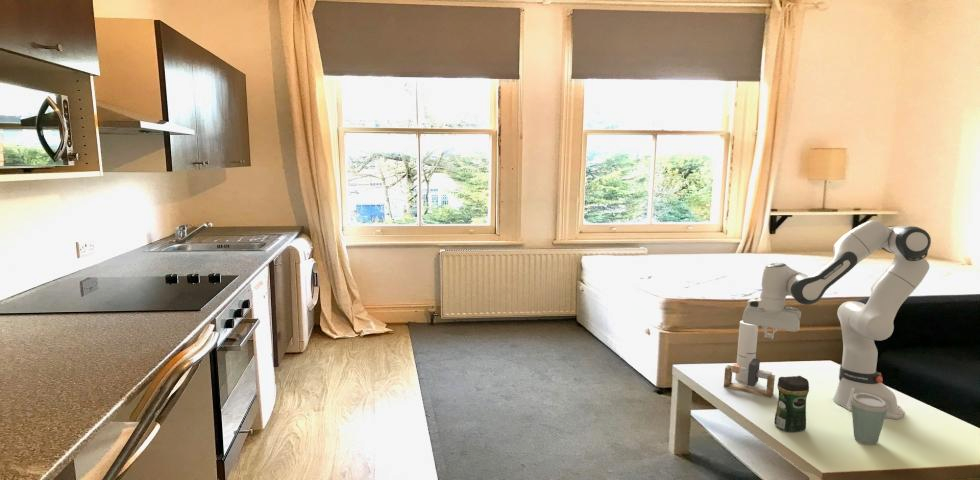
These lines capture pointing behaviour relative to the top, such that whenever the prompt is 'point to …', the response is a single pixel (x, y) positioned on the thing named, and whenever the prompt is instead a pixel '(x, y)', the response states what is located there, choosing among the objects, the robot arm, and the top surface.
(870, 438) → the disposable coffee cup
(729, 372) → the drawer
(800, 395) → the coffee jar
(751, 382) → the collar
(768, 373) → the light grey long bar
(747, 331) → the cylindrical container
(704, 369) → the top surface
